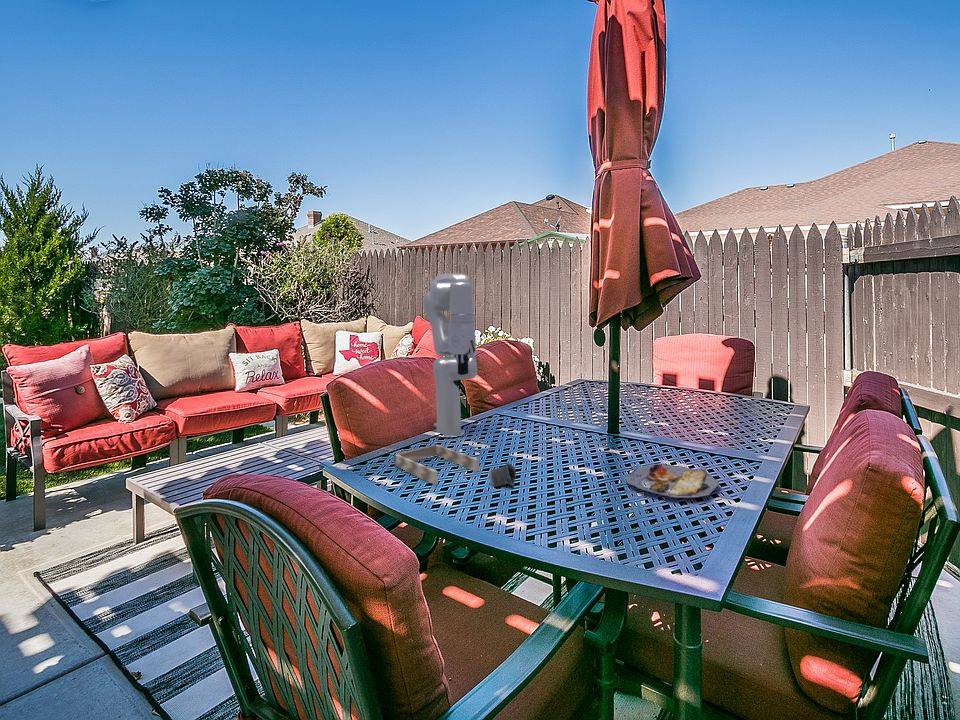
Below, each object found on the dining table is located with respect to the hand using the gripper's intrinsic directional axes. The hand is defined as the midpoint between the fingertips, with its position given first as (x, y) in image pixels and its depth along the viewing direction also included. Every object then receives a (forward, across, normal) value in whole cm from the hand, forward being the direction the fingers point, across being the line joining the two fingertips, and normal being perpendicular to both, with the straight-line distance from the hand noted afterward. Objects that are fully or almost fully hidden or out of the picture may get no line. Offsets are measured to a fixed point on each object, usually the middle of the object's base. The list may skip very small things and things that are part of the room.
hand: (463, 374), depth 171 cm
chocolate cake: (+30, +25, -6) cm, 39 cm away
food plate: (+30, +61, +27) cm, 73 cm away
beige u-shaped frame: (+29, +3, -14) cm, 32 cm away
